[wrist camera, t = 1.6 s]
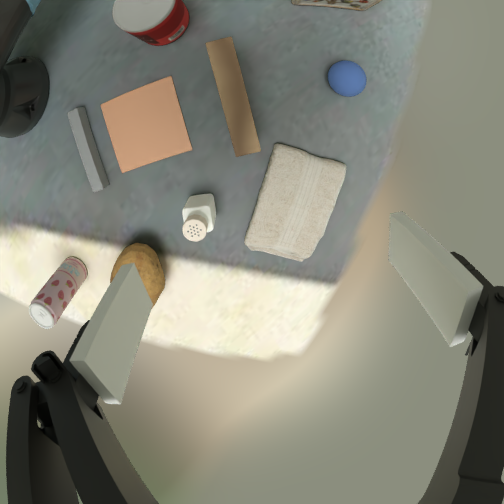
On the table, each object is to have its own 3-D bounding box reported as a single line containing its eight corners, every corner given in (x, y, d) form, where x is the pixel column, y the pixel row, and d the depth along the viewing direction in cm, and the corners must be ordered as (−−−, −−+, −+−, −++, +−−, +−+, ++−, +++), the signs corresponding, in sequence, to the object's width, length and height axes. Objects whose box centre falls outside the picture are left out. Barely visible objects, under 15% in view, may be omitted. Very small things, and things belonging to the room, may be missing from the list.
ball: (319, 64, 35) (330, 59, 30) (353, 61, 35) (368, 57, 30) (327, 98, 38) (339, 98, 33) (360, 94, 37) (375, 95, 32)
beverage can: (89, 261, 49) (53, 311, 36) (87, 284, 52) (55, 334, 39) (65, 252, 48) (25, 298, 35) (64, 274, 51) (29, 322, 38)
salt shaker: (213, 191, 44) (207, 214, 36) (217, 215, 46) (212, 242, 38) (188, 195, 44) (176, 218, 36) (192, 218, 46) (182, 246, 38)
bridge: (236, 146, 41) (235, 157, 33) (212, 55, 34) (205, 43, 26) (256, 141, 41) (261, 151, 33) (233, 50, 34) (231, 36, 26)
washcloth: (241, 243, 49) (241, 252, 47) (272, 139, 41) (275, 142, 39) (307, 258, 51) (310, 267, 49) (343, 162, 43) (350, 166, 40)
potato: (177, 240, 48) (167, 265, 41) (162, 302, 54) (153, 330, 47) (124, 224, 46) (106, 246, 39) (116, 287, 52) (102, 313, 45)
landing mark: (101, 104, 36) (100, 104, 36) (171, 75, 35) (171, 75, 35) (122, 172, 42) (122, 173, 42) (192, 149, 41) (192, 149, 41)
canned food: (193, 0, 29) (179, -28, 20) (186, 45, 33) (169, 28, 23) (144, 4, 29) (117, -19, 19) (137, 48, 32) (107, 35, 23)
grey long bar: (74, 111, 36) (67, 113, 34) (84, 106, 36) (76, 107, 34) (100, 188, 43) (93, 192, 41) (109, 184, 43) (103, 188, 40)
